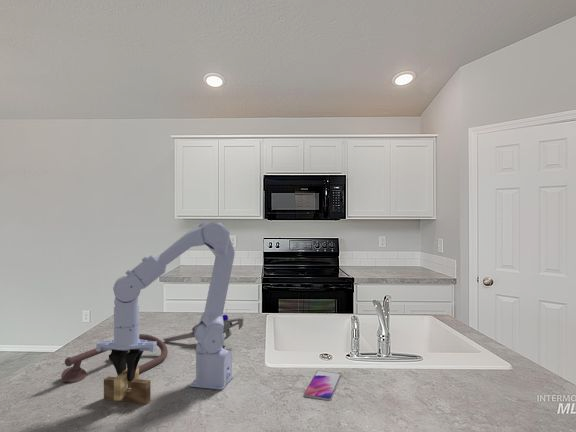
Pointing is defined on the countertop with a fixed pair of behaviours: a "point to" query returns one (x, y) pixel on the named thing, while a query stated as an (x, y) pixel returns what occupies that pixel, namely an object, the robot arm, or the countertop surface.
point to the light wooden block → (123, 384)
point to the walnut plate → (129, 391)
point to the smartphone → (323, 385)
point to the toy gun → (226, 321)
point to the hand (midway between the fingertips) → (126, 379)
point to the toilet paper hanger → (79, 374)
